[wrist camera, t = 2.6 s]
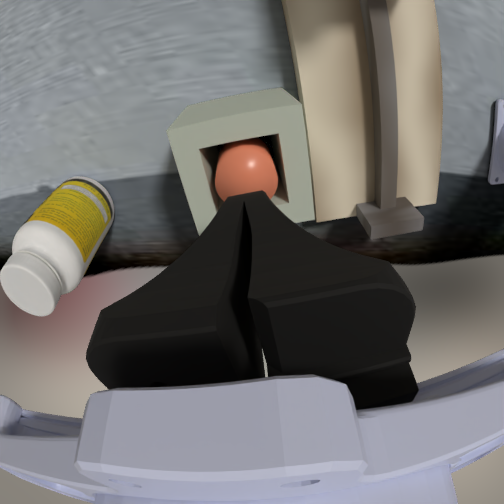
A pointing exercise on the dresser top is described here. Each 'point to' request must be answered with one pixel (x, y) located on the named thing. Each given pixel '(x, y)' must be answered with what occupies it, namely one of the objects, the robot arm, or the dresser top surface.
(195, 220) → the cabinet
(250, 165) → the button
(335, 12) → the rail board
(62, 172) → the dresser top surface
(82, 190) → the supplement bottle
